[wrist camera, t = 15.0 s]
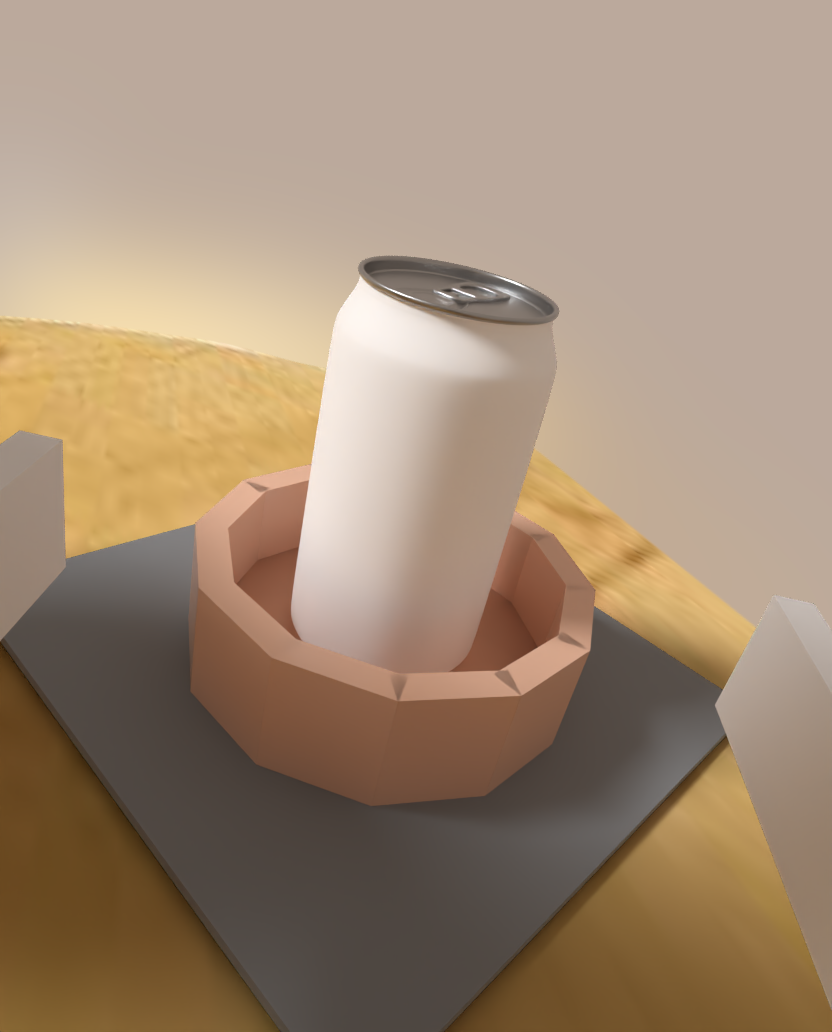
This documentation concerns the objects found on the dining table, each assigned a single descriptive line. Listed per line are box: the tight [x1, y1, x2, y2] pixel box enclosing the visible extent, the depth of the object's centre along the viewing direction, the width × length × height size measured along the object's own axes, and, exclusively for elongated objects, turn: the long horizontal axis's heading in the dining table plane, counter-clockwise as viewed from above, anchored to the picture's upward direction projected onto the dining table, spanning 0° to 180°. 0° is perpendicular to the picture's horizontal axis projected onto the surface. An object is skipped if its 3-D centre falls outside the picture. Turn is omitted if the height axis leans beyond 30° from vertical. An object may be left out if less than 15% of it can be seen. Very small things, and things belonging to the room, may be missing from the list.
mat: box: [0, 524, 727, 1032], centre depth 27 cm, size 20×20×1 cm
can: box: [291, 256, 559, 674], centre depth 24 cm, size 6×6×12 cm
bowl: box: [188, 464, 595, 806], centre depth 26 cm, size 13×13×4 cm
